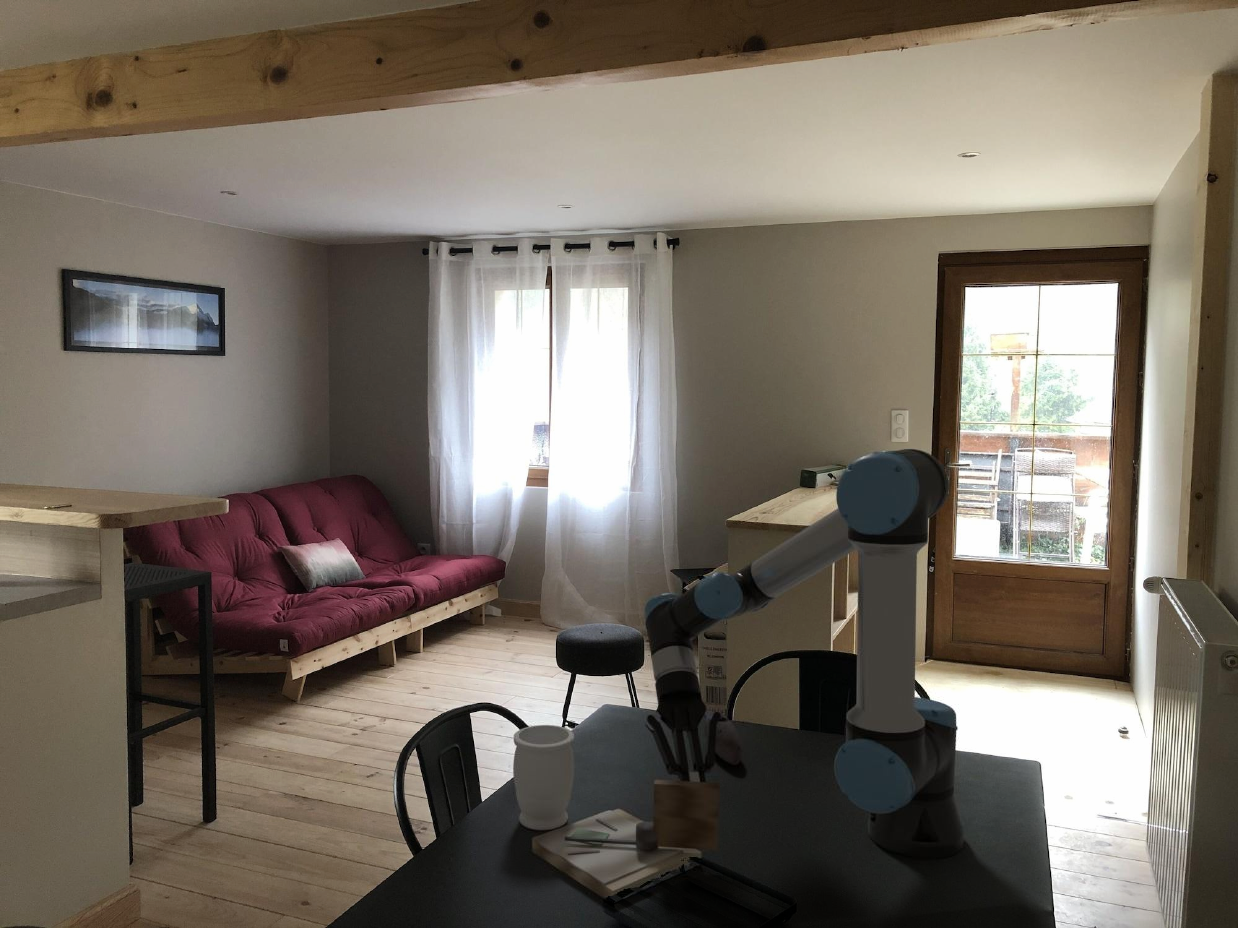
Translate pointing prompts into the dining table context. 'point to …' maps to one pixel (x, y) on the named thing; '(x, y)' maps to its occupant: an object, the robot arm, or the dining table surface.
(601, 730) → the dining table surface
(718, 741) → the perforated stone tool
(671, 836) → the peg
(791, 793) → the dining table surface
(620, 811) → the light wood flat board
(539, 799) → the jar
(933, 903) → the dining table surface
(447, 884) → the dining table surface
